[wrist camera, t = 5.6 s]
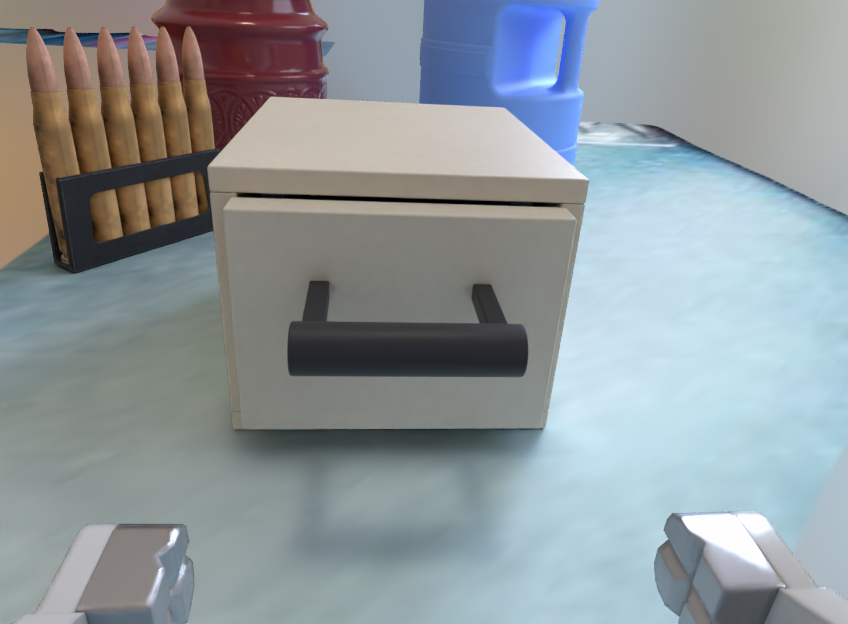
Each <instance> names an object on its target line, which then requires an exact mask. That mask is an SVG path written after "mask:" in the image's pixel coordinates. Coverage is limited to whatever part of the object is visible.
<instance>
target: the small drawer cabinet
mask: <svg viewBox="0 0 848 624" xmlns="http://www.w3.org/2000/svg"><path fill="white" fill-rule="evenodd" d="M207 170H208V180H209V189H210V191H211V192H210V200H211V210H212V220H213V231H214V241H215V251H216V261H217V271H218V281H219V291H220V302H221V312H222V322H223V332H224V342H225V352H226V363H227V373H228V383H229V393H230V403H231V410H232V412H231V414H232V425H233V429H243V428H242V419H241V408H240V397H239V386H238V375H237V364H236V353H235V342H234V331H233V320H232V308H231V297H230V286H229V275H228V264H227V253H226V242H225V231H224V220H223V208H224V207H225V205H226V204H227V202H228V201H229V199H230V198H232V197H241V198H261V193H266V194H297V195H328V196H359V197H390V198H421V199H452V200H483V201H515V202H534V204H533V207H559V208H567V209H568V210H569V212H570V213H571V214H572V215H573V216H574V217H575V218H576V220H577V223H576V229H575V234H574V240H573V246H572V252H571V257H570V263H569V269H568V275H567V280H566V286H565V292H564V298H563V303H562V309H561V315H560V321H559V326H558V332H557V338H556V344H555V349H554V355H553V361H552V367H551V372H550V378H549V384H548V390H547V395H546V401H545V407H544V413H543V418H542V424H541V428H545V427H546V421H547V416H548V409H549V404H550V398H551V393H552V387H553V381H554V376H555V370H556V364H557V359H558V353H559V348H560V342H561V336H562V331H563V325H564V320H565V314H566V308H567V303H568V297H569V291H570V286H571V280H572V275H573V269H574V263H575V258H576V252H577V246H578V241H579V235H580V230H581V224H582V218H583V213H584V207H585V205H584V204H583V203H585V201H586V196H587V190H588V184H589V179H587V178H586V177H585V176H584V175H583V174H582V173H580V172H579V171H578V170H577V169H576V168H574V167H573V166H572V165H571V164H570V163H569V162H567V161H566V160H565V159H564V158H563V157H562V156H560V155H559V154H558V153H557V152H556V151H555V150H553V149H552V148H551V147H550V146H549V145H548V144H546V143H545V142H544V141H543V140H542V139H540V138H539V137H538V136H537V135H536V134H535V133H533V132H532V131H531V130H530V129H529V128H528V127H526V126H525V125H524V124H523V123H522V122H521V121H519V120H518V119H517V118H516V117H515V116H513V115H512V114H511V113H510V112H509V111H508V110H506V109H505V108H502V107H481V106H459V105H438V104H417V103H395V102H374V101H353V100H331V99H310V98H289V97H270V98H269V99H268V100H267V101H266V102H265V103H264V104H263V106H262V107H261V108H260V109H259V110H258V111H257V112H256V113H255V114H254V116H253V117H252V118H251V119H250V120H249V121H248V122H247V123H246V124H245V125H244V127H243V128H242V129H241V130H240V131H239V132H238V133H237V134H236V135H235V136H234V138H233V139H232V140H231V141H230V142H229V143H228V144H227V145H226V146H225V148H224V149H223V150H222V151H221V152H220V153H219V154H218V155H217V156H216V157H215V159H214V160H213V161H212V162H211V163H210V164H209V165H208V167H207Z"/></svg>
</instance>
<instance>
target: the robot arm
mask: <svg viewBox="0 0 848 624" xmlns="http://www.w3.org/2000/svg"><path fill="white" fill-rule="evenodd" d="M664 532H665V534H666V535H667V537H668V540H667V541H666V542H665V543H664V544H663V545H661V546H660V547H659V548H658V549H657V553H656V557H655V561H654V571H655V581H656V584H657V588H658V592H659V594H660V596H661V598H662V600H663V602H664V605H665V606H666V607H668V608H669V609H670V610H671V611H673V612H674V613H675V614H676V615H678V616H679V620H678V624H848V600H847V599H845V598H844V597H842V596H840V595H839V594H837V593H836V592H834V591H833V590H831V589H829V588H828V587H818V586H817V584H816V583H815V582H814V580H813V579H812V578H811V576H810V575H809V574H808V573H807V571H806V570H805V569H804V567H803V566H802V565H801V563H800V562H799V561H798V559H797V558H796V557H795V556H794V554H793V553H792V552H791V550H790V549H789V548H788V546H787V545H786V544H785V543H784V541H783V540H782V539H781V537H780V536H779V535H778V533H777V532H776V531H775V529H774V528H773V527H772V526H771V524H770V523H769V522H768V520H767V519H766V518H765V517H764V516H763V515H762V514H761V513H759V512H757V511H731V512H699V513H672V514H671V515H670V516H669V517H668V519H667V521H666V524H665V527H664ZM188 543H189V537H188V532H187V527H186V526H185V525H183V524H119V525H118V524H87V525H85V526H84V527H83V528H82V529H81V530H80V531H79V532H78V533H77V535H76V537H75V539H74V541H73V543H72V545H71V546H70V548H69V550H68V552H67V554H66V556H65V558H64V559H63V561H62V563H61V565H60V567H59V569H58V571H57V573H56V574H55V576H54V578H53V580H52V582H51V584H50V586H49V587H48V589H47V591H46V593H45V595H44V597H43V599H42V601H41V602H40V604H39V606H38V608H37V610H36V612H35V614H24V615H22V616H21V617H20V618H18V619H17V620H16V621H14V622H13V623H12V624H186V623H187V620H188V617H189V613H190V609H191V605H192V598H193V591H194V569H193V562H192V560H191V559H190V558H188V557H187V556H186V555H185V553H186V550H187V547H188Z"/></svg>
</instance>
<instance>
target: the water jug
mask: <svg viewBox="0 0 848 624" xmlns="http://www.w3.org/2000/svg"><path fill="white" fill-rule="evenodd" d="M598 6H599V0H425V1H424V22H423V37H422V39H421V47H420V48H421V49H420V66H421V80H420V100H419V104H438V105H459V106H481V107H502V108H505V109H506V110H508V111H509V112H510V113H511V114H512V115H513V116H515V117H516V118H517V119H518V120H519V121H521V122H522V123H523V124H524V125H525V126H526V127H528V128H529V129H530V130H531V131H532V132H533V133H535V134H536V135H537V136H538V137H539V138H540V139H542V140H543V141H544V142H545V143H546V144H548V145H549V146H550V147H551V148H552V149H553V150H555V151H556V152H557V153H558V154H559V155H560V156H562V157H563V158H564V159H565V160H566V161H567V162H569V163H570V164H571V165H573V164H574V162H575V157H576V151H577V145H578V144H577V135H578V129H579V123H580V117H581V110H582V104H583V98H584V93H583V91H582V90H580V89H579V88H578V80H579V74H580V68H581V61H582V54H583V48H584V42H585V36H586V29H587V23H588V18H589V15H590V14H591V12H592V11H594V10H596V9H597V8H598ZM563 15H564V17H565V19H566V27H565V34H564V41H563V48H562V55H561V62H560V69H559V76H558V80H557V79H556V77H555V67H556V60H557V53H558V46H559V39H560V31H561V24H562V17H563Z"/></svg>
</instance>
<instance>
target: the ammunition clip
mask: <svg viewBox="0 0 848 624" xmlns="http://www.w3.org/2000/svg"><path fill="white" fill-rule="evenodd" d="M97 49H98V50H97V60H98V73H99V79H100V92H101V99H102V102H101V112H100V110H99V107H98V104H97V101H96V96H95V91H94V88H93V84H92V79H91V74H90V70H89V66H88V62H87V59H86V56H85V53H84V50H83V48H82V45H81V43H80V41H79V39H78V37H77V35H76V33H75V32H74V30H73V29H72V28H71V27H68V28H67V30H66V33H65V38H64V49H63V50H64V51H63V55H64V56H63V57H64V71H65V77H66V83H67V94H68V101H69V119H68V117H67V114H66V112H65V109H64V107H63V103H62V99H61V94H60V91H59V89H58V84H57V79H56V75H55V71H54V68H53V65H52V62H51V59H50V56H49V53H48V51H47V49H46V46H45V44H44V42H43V40H42V38H41V36H40V35H39V33H38V32H37V30H36V29H35V28H33V27H31V28H30V29H29V32H28V36H27V48H26V59H27V70H28V77H29V83H30V87H31V97H32V103H33V125H34V130H35V135H36V140H37V144H38V149H39V154H40V158H41V164H42V168H43V172H40V173H39V174H40V180H41V186H42V192H43V198H44V203H45V209H46V215H47V221H48V227H49V233H50V239H51V245H52V251H53V257H54V263H55V264H57V265H59V266H61V267H63V268H66V269H68V270H70V271H72V272H74V273H76V272H80V271H83V270H86V269H89V268H92V267H96V266H99V265H102V264H105V263H109V262H112V261H115V260H118V259H121V258H125V257H128V256H131V255H134V254H138V253H141V252H144V251H147V250H150V249H154V248H157V247H160V246H163V245H167V244H170V243H173V242H176V241H179V240H183V239H186V238H189V237H192V236H196V235H199V234H202V233H205V232H208V231H212V230H213V220H212V210H211V200H210V192H211V191H210V189H209V180H208V170H207V167H208V165H209V164H210V163H211V162H212V161H213V160H214V159H215V157H216V156H217V155H218V154H219V153H220V150H219V148H215V145H214V135H213V124H212V114H211V106H210V102H209V98H208V95H207V90H206V83H205V79H204V70H203V63H202V58H201V53H200V49H199V46H198V43H197V40H196V37H195V34H194V32H193V30H192V29H191V27H189V26H188V27H187V28H186V30H185V33H184V37H183V45H182V71H183V91H184V93H183V94H182V88H181V82H180V78H179V70H178V64H177V60H176V55H175V51H174V48H173V45H172V42H171V39H170V37H169V34H168V33H167V31H166V29H165V28H164V27H160V29H159V33H158V37H157V44H156V70H157V78H158V81H157V86H158V101H157V98H156V92H155V87H154V83H153V77H152V70H151V65H150V61H149V57H148V53H147V50H146V47H145V44H144V41H143V39H142V37H141V35H140V33H139V31H138V29H137V28H136V27H132V29H131V32H130V35H129V42H128V70H129V78H130V92H131V105H130V104H129V101H128V96H127V91H126V86H125V84H124V77H123V71H122V67H121V63H120V60H119V56H118V52H117V50H116V47H115V44H114V42H113V39H112V37H111V35H110V34H109V32H108V30H107V29H106V28H105V27H102V28H101V30H100V33H99V38H98V47H97Z"/></svg>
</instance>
